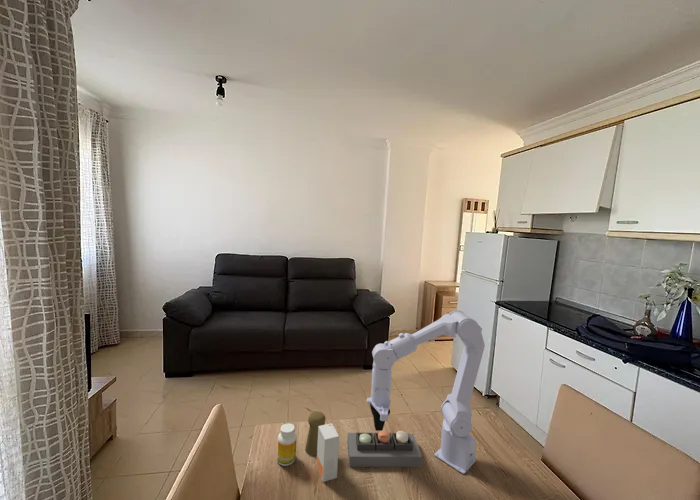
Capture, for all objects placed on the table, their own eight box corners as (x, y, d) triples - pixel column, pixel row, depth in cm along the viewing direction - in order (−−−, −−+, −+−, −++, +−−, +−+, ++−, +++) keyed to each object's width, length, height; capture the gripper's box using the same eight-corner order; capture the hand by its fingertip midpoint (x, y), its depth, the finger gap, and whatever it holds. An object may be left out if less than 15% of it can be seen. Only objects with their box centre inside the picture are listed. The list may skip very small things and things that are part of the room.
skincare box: (315, 466, 85) (317, 425, 84) (330, 462, 86) (332, 422, 86) (322, 483, 79) (324, 439, 78) (337, 478, 81) (339, 436, 80)
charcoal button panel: (412, 442, 97) (413, 428, 96) (421, 466, 87) (422, 451, 86) (347, 441, 95) (348, 427, 95) (349, 466, 85) (350, 450, 85)
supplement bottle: (275, 454, 88) (276, 423, 87) (293, 451, 90) (295, 420, 89) (277, 468, 83) (279, 435, 82) (297, 464, 85) (298, 431, 84)
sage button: (370, 438, 92) (370, 433, 92) (371, 446, 89) (372, 441, 88) (358, 438, 92) (358, 433, 92) (359, 446, 88) (360, 441, 88)
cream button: (406, 435, 93) (406, 430, 93) (409, 444, 89) (409, 438, 89) (394, 435, 93) (395, 430, 93) (397, 443, 89) (397, 438, 89)
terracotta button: (388, 435, 92) (388, 430, 92) (390, 443, 89) (391, 438, 89) (376, 435, 92) (377, 430, 92) (378, 443, 89) (379, 438, 89)
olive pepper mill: (315, 459, 87) (317, 423, 86) (301, 449, 91) (302, 414, 90) (329, 448, 92) (331, 413, 91) (315, 439, 95) (316, 405, 95)
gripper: (364, 373, 96) (362, 414, 97) (371, 398, 82) (368, 446, 83) (386, 374, 97) (384, 414, 98) (396, 399, 82) (393, 446, 83)
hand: (378, 429), depth 90 cm, fingers closed
